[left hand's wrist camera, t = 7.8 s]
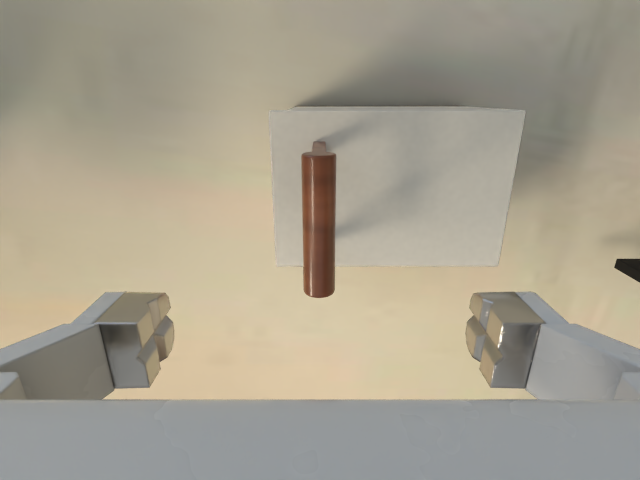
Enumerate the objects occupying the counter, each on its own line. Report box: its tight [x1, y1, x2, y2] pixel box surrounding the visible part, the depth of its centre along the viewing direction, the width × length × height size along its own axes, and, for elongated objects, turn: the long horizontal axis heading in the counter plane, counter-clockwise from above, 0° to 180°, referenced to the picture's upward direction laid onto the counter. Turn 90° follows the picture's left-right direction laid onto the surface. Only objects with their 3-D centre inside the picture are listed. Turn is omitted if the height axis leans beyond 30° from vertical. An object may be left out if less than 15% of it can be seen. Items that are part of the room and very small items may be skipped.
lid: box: [269, 110, 526, 298], centre depth 20 cm, size 14×10×8 cm, turn 90°
